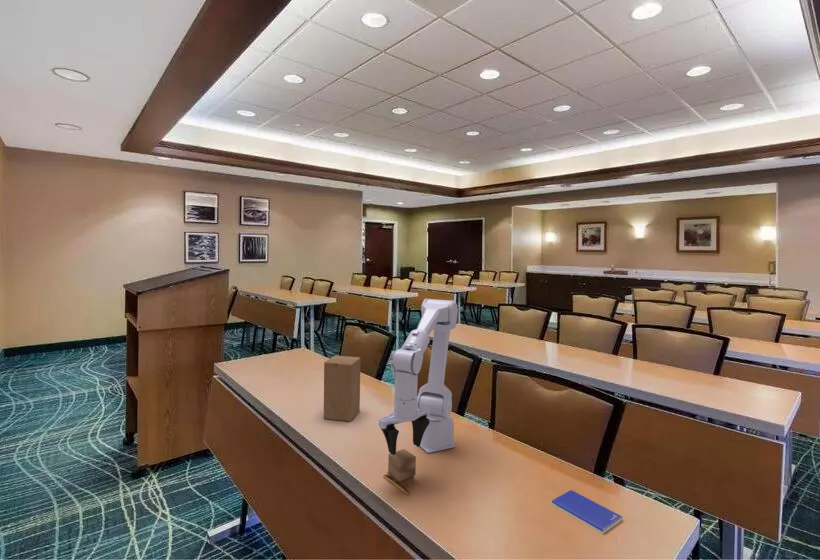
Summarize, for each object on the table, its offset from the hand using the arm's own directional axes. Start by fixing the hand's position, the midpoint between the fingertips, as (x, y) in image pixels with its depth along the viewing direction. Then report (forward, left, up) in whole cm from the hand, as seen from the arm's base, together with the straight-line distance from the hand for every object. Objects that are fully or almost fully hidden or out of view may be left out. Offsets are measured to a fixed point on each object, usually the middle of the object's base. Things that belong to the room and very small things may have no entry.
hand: (404, 449), depth 104 cm
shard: (0, 0, -9) cm, 9 cm away
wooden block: (+2, -46, -8) cm, 47 cm away
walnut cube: (0, 0, -7) cm, 7 cm away
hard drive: (-32, +29, -9) cm, 44 cm away
